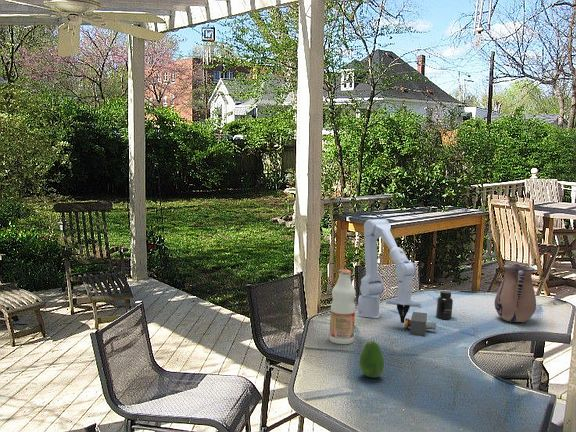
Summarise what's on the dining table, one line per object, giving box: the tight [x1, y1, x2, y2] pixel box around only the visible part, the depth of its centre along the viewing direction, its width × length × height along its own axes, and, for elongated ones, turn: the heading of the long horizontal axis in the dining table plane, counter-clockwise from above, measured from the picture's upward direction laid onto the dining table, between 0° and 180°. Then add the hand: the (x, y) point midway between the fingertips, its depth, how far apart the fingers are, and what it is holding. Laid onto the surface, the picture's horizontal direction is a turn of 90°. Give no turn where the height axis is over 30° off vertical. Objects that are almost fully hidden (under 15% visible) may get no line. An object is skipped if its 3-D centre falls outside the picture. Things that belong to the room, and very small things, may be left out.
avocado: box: [359, 340, 385, 379], centre depth 196 cm, size 8×8×12 cm
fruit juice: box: [328, 268, 356, 345], centre depth 231 cm, size 9×9×28 cm
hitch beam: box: [409, 311, 428, 337], centre depth 250 cm, size 6×14×6 cm, turn 165°
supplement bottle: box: [435, 290, 454, 321], centre depth 270 cm, size 7×7×12 cm
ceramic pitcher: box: [494, 263, 537, 323], centre depth 268 cm, size 18×21×25 cm
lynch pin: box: [404, 317, 437, 331], centre depth 250 cm, size 12×4×4 cm, turn 74°
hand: (402, 322), depth 252 cm, fingers closed
